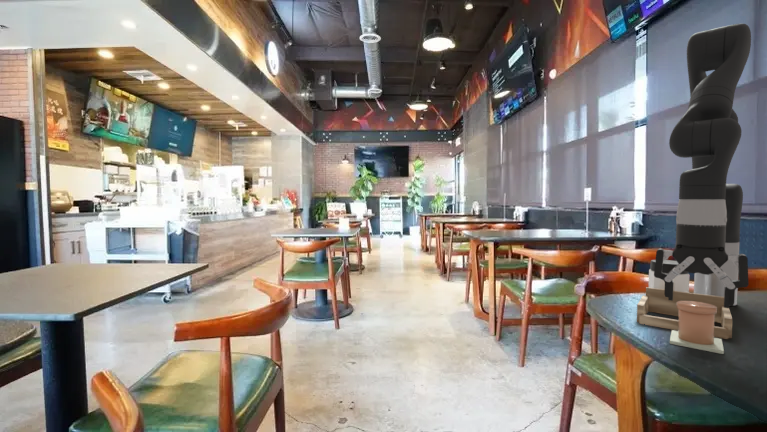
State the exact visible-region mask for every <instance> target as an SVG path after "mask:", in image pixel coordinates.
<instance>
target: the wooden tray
mask: <svg viewBox="0 0 767 432" xmlns="http://www.w3.org/2000/svg"><path fill="white" fill-rule="evenodd" d="M664 292H665V289H657V288H649V286H648V287H647V286H646V287H645V295H642V296H641V298H640V299H639V300H638V303H637V305H636V306H637V307H636V323H638V325H640V324H641V325H644V324H645V325H646V326H651V327H657V328H662V329H668V330H671V331H672V330H674V331H678V322H679V319H673V318H668V317H661V316H654V315H649V314H648V313H649V312H650V313H656V314H662V315H669V316H674V317H679V309H678V308H677V302H678V301H695V302H702V303H707V304H711V305H714V306H716V307H717V313H716V314H714V323H718V324H720V325H721V326H716V325H714V338H719V339H722V340H723V339H724V340H729V339H732V338H733V337H732V336H733V317H732V314H731V310H730V307H729V308H724V297H721V296H713V295H705V294H697V293H694V292H690V291H689V292H681V291H673V301H671V300H668V297H665V295H664Z"/></svg>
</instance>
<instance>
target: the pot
mask: <svg viewBox="0 0 767 432" xmlns="http://www.w3.org/2000/svg"><path fill="white" fill-rule="evenodd" d="M677 308H678V309H679V316H678V320H679V322H678V330H677V331H678V337H679V338H680V339H682V340H684V341H688V342H691V343H696V344H713V343H714V338H715V337H714V326H715V322H714V314H716V313H717V307H716V306H714V305H711V304H707V303H702V302H695V301H678V302H677Z"/></svg>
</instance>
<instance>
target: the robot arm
mask: <svg viewBox="0 0 767 432" xmlns="http://www.w3.org/2000/svg"><path fill="white" fill-rule="evenodd" d="M751 46H752V32H751V28H750V26H749V25H748V24H746V23H735V24H734V23H733V24H730V25H725V26H720V27H715V28H712V29H709V30H702V31H698V32H695V33H694V34H692V35H691V36H690V37H689V38H688V41H687V45H686V65H687V66H686V67H687V74H688V83H689V85H688V86H689V93H690V95H689V96H690V99H689V103H688V107H687V110H686V112H685V113H684V114H683V116H682V117H681V118H680V119H679V121H678V122H677V123H676V124H675V126H674V127H673V129H672V131H671V133H670V135H669V143H668V145H669V149H670V151H671V152H672V153H673V154H674V155H675V156H677V157H679V158H687V159H688V158H691V165H692V167H691V169H689V170H688V169H687V170H685V171H683V172H682V173H680V175H679V176H680V178H679V186H678V188H679V189H678V190H679V193H678V204H677V209H676V217H675V220H676V223H675V224H676V228H675V229H676V230H675V246H674V247H675V248H673V249H674V250H670V249H664V248H661V247H660V248H658V249H657V250H656V251H655V252H656V253H655V259H654V260H655V269H654V276H655V277H656V278H660V279H662V280H664V282H665V292H664V295H665V297H668V300H671V301H673V286H674V281H673V279H674V278H675V277H676V276H678V275H679V274H680V273H681V272H682V271H683V270H685V271H686V272H688V274H693V275H694V277H693V278H694V279H693V281H694V283H693V293H697V294H705V295H713V296H721V297H724V308H729V309H730V306H731V307H733V306H737V305H738V289H739V288H747V287H748V286H749V266H748V265H749V262H748V261H749V260H748V256H747V255H746V254H744V253H740V242H741V241H740V240H741V235H740V233H741V232H740V231H741V218H742V217H741V216H742V209H743V202H744V201H743V199H744V197H743V196H744V192H743V189H742V186H741V185H740V184H737V183H727V178H728V173H729V169H730V165H731V163H732V160H733V157H734V155H735V153H736V150H737V148H738V145H740V142H741V137H742V128H741V125H740V123H739V117H738V115H737V112H736V111H735V110H734V109H733V107H734V100H735V93H736V88H737V85H738V83H739V81H740V79H741V77H742V74H743V72H744V70H745V68H746V65H747V62H748V59H749V57H750V53H751V52H750V51H751ZM710 71H712V72H711V73H709V74H708V75H707V73H706V72H710ZM670 256H672V257H673V258H674V261H677V262H678V263H679V264H678V265H677V266H675V267H674V268H673V269H672V270H671V271H670V272H669V273H668V274H666V273H663V272H662V268H663V260H669V257H670Z"/></svg>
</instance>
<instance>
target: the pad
mask: <svg viewBox="0 0 767 432" xmlns="http://www.w3.org/2000/svg"><path fill="white" fill-rule="evenodd" d="M670 344H671V345H675V346H681V347H686V348H690V349H695V350H700V351H704V352H706V351H707V352H710V353H716V354H720V355H724V354H725V350H724V349H725V348H724V345H723V338H717V337H714V343H713V344H696V343H691V342H688V341H684V340H682V339H680V338H679V337H678V330H672V329H671V333H670V337H669V345H670Z"/></svg>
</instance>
